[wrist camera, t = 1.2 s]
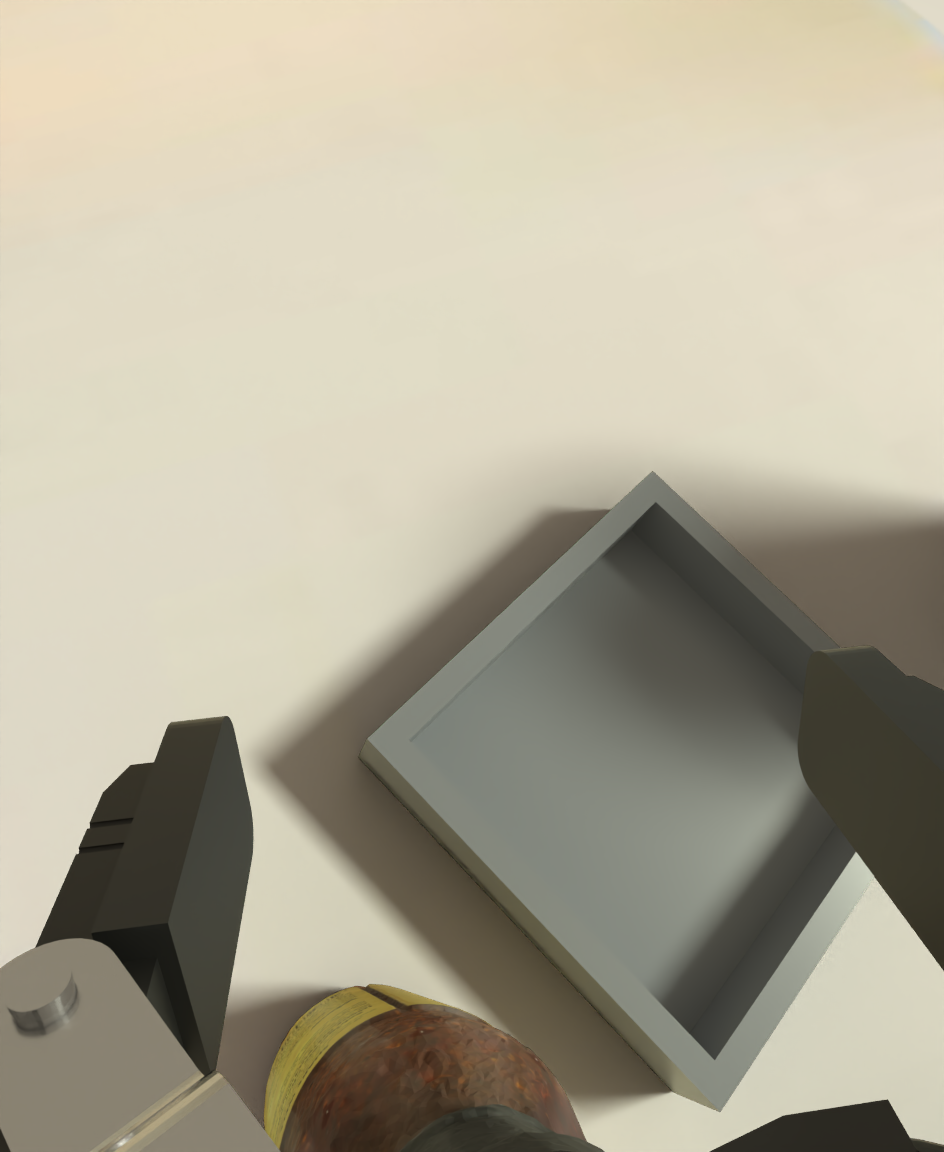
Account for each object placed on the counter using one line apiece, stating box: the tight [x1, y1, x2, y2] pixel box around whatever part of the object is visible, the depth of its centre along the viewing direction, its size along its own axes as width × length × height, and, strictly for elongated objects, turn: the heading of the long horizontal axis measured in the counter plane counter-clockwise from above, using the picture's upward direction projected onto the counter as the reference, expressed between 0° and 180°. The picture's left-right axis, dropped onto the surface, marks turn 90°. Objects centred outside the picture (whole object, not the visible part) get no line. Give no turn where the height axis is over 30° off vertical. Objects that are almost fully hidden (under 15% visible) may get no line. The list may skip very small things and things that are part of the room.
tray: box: [358, 471, 874, 1112], centre depth 32 cm, size 16×16×4 cm
